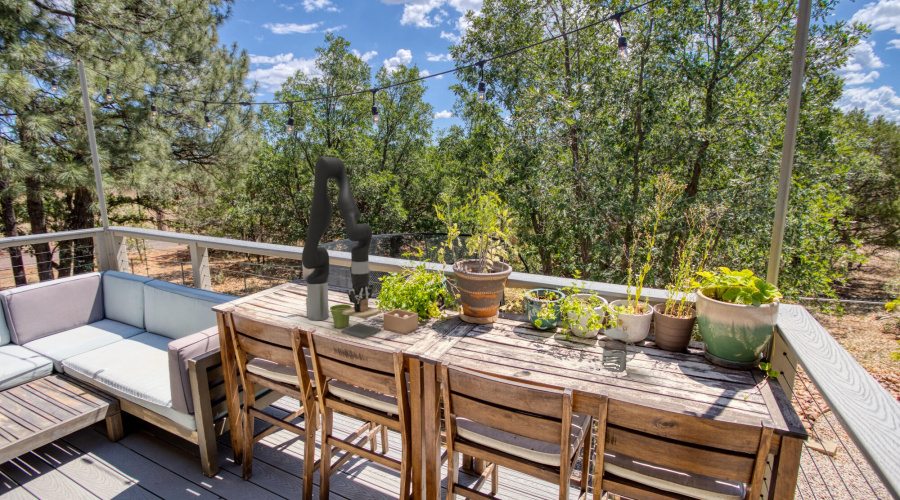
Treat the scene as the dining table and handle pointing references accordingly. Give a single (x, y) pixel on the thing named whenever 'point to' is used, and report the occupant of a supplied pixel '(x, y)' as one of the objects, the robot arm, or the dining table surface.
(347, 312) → the lid
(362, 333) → the mat
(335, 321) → the plant pot
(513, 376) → the dining table surface
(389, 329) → the box
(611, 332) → the french press
